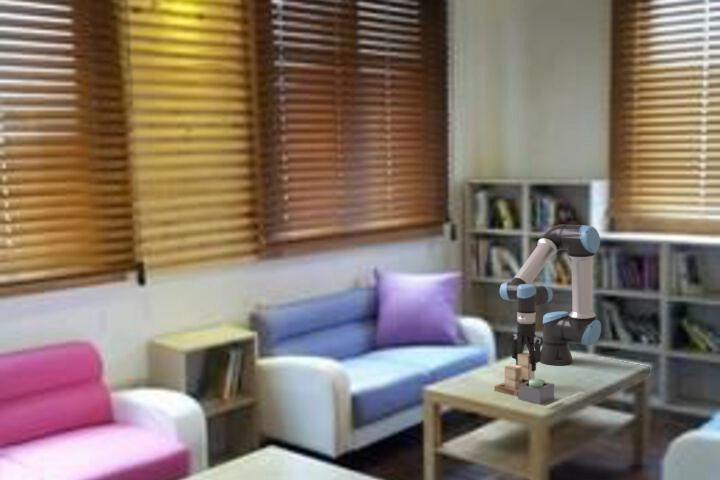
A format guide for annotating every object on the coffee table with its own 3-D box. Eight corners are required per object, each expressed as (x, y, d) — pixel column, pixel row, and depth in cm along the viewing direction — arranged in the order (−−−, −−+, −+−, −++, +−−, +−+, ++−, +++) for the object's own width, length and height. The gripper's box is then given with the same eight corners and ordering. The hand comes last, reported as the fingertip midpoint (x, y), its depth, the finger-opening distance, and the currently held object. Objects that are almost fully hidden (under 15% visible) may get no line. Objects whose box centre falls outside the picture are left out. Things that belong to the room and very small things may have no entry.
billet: (524, 375, 348) (524, 351, 347) (534, 377, 344) (534, 353, 343) (517, 377, 344) (517, 354, 343) (527, 380, 341) (527, 356, 340)
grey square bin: (532, 396, 334) (532, 379, 333) (553, 401, 327) (554, 384, 326) (518, 402, 327) (518, 384, 326) (539, 407, 320) (540, 389, 319)
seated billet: (511, 387, 342) (511, 364, 341) (521, 390, 338) (522, 366, 337) (504, 390, 338) (504, 366, 337) (514, 393, 335) (514, 368, 334)
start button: (533, 385, 330) (533, 377, 330) (546, 387, 326) (546, 380, 326) (526, 388, 326) (526, 380, 326) (538, 391, 322) (538, 383, 322)
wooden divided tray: (522, 383, 352) (522, 375, 352) (544, 388, 345) (544, 380, 344) (494, 393, 338) (494, 386, 338) (517, 399, 331) (517, 391, 330)
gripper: (502, 320, 345) (502, 374, 348) (540, 326, 333) (539, 383, 335) (513, 317, 351) (512, 371, 353) (550, 323, 338) (549, 379, 340)
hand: (525, 376), depth 344 cm, fingers closed on billet, 5 cm apart
